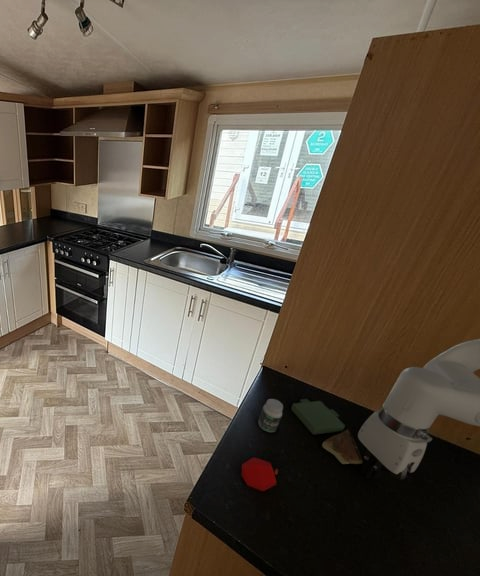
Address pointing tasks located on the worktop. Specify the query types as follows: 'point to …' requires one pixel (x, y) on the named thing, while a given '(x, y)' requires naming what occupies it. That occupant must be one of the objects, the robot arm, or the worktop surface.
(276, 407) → the pill bottle
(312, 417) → the rubber pad
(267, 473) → the apple
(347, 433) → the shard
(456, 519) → the worktop surface
